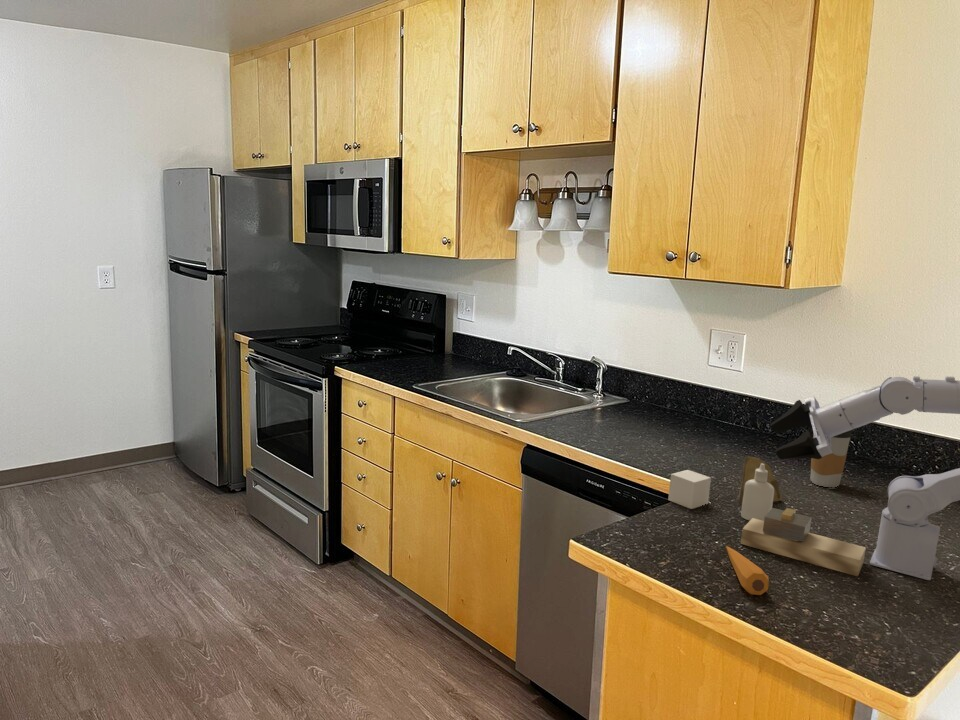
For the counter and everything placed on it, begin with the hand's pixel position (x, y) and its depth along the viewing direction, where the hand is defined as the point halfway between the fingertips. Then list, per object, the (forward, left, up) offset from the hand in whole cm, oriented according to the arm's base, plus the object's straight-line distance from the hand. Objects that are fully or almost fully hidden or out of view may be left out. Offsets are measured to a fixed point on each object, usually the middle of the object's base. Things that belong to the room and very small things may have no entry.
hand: (775, 441), depth 141 cm
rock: (+5, -18, -19) cm, 27 cm away
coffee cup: (-4, -42, -19) cm, 47 cm away
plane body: (-8, +5, -19) cm, 21 cm away
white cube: (+17, -7, -19) cm, 27 cm away
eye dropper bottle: (+3, -6, -19) cm, 20 cm away
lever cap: (-5, +5, -15) cm, 17 cm away
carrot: (-1, +19, -19) cm, 27 cm away
